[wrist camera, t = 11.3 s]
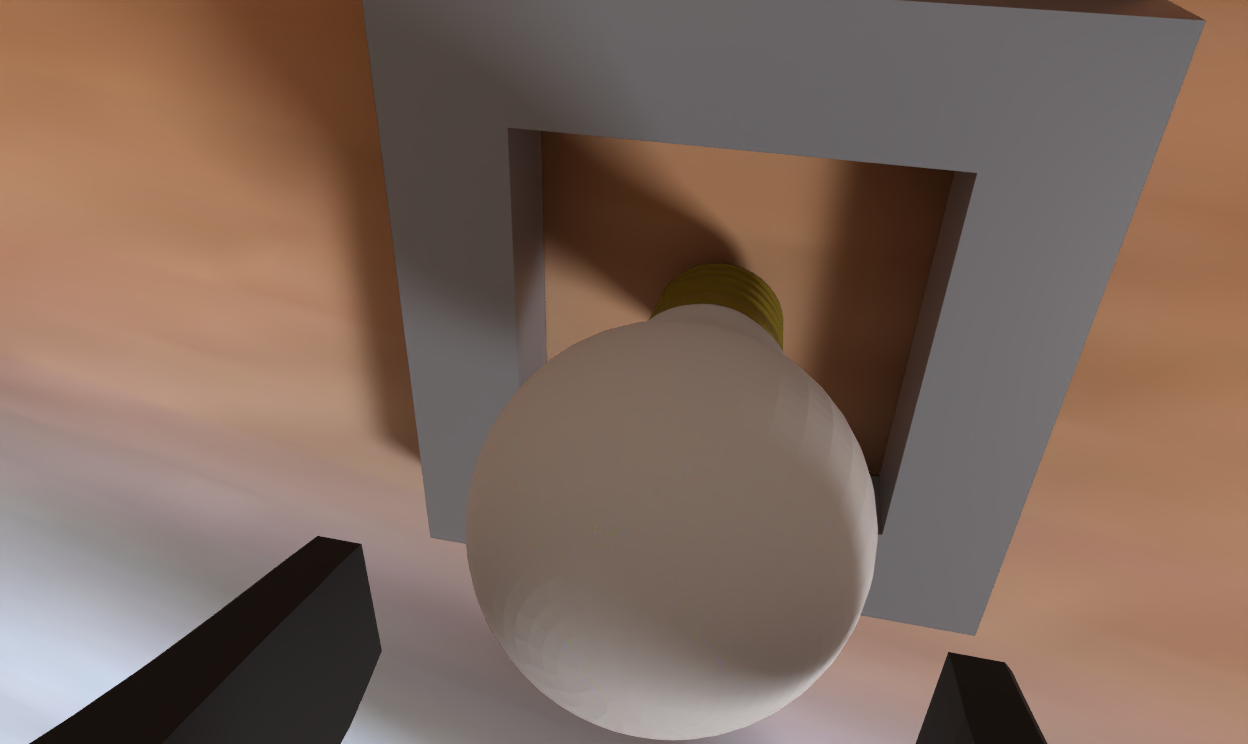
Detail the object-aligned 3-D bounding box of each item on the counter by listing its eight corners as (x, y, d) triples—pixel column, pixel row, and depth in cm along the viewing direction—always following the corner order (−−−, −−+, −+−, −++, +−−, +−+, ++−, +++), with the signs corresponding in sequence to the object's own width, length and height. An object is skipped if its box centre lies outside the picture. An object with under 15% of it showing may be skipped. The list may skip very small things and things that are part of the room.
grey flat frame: (964, 572, 21) (974, 635, 19) (460, 486, 23) (430, 537, 21) (1264, -301, 12) (1334, -323, 10) (382, -310, 14) (319, -329, 12)
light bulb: (711, 455, 21) (624, 874, 12) (537, 282, 19) (306, 628, 11) (925, 324, 18) (997, 759, 9) (739, 106, 16) (632, 400, 8)
